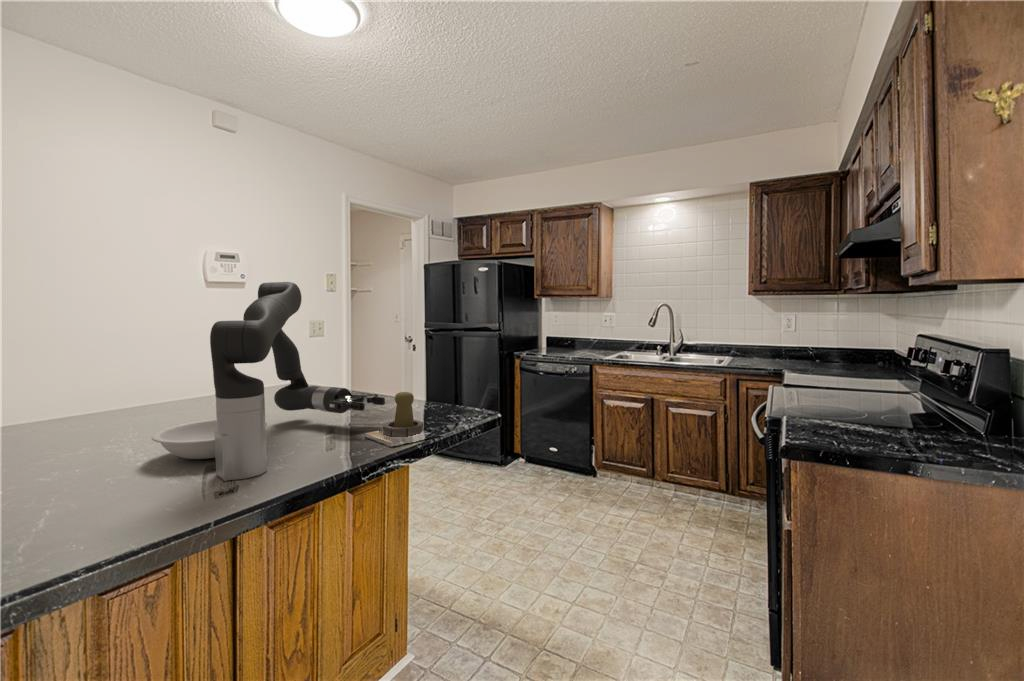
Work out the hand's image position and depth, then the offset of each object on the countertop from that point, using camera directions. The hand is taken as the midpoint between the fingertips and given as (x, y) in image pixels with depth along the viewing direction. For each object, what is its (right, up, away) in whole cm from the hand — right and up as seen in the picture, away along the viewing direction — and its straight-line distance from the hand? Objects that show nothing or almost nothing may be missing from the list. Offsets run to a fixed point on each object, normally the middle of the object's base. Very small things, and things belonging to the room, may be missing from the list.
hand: (374, 403), depth 141 cm
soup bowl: (-34, -10, -20) cm, 41 cm away
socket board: (+9, -9, -4) cm, 13 cm away
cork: (+9, -7, -3) cm, 12 cm away
